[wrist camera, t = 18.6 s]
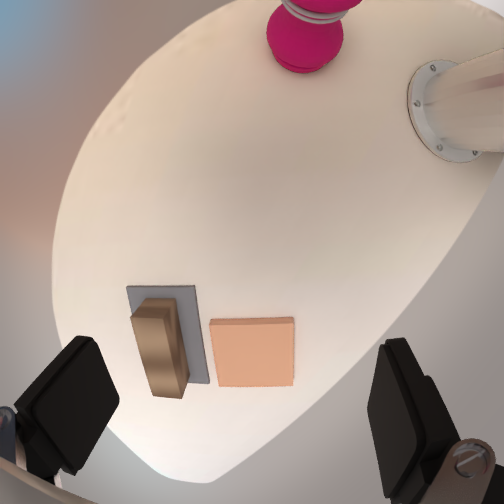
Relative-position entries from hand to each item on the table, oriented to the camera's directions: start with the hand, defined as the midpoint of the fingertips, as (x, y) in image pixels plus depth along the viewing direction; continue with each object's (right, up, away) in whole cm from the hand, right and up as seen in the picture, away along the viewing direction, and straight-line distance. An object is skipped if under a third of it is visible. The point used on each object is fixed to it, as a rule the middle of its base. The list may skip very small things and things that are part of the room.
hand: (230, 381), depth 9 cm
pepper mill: (+6, +26, +19) cm, 32 cm away
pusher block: (-10, -7, +29) cm, 32 cm away
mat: (-10, -7, +30) cm, 32 cm away
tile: (+1, -4, +28) cm, 28 cm away
